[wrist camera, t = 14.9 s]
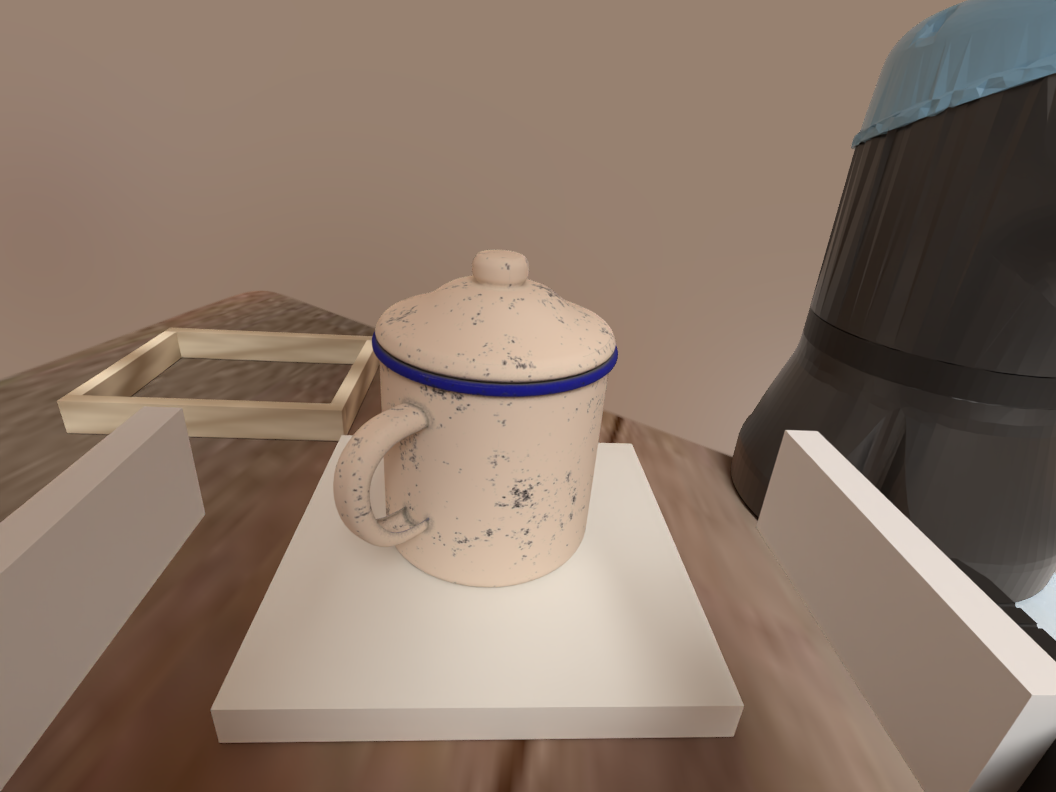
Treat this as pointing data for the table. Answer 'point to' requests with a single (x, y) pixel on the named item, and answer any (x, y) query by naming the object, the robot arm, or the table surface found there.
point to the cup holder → (111, 402)
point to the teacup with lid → (482, 427)
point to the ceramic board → (481, 637)
